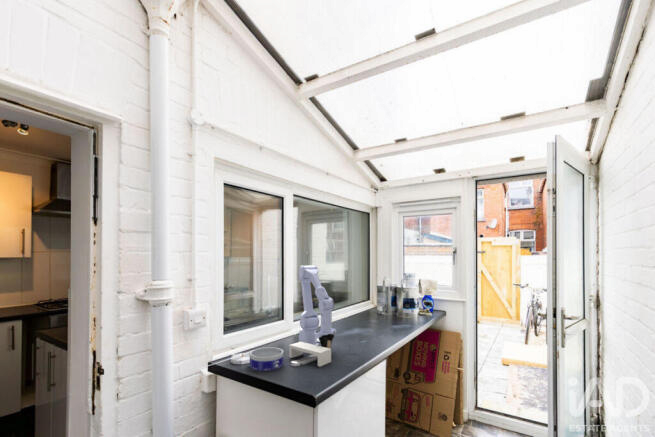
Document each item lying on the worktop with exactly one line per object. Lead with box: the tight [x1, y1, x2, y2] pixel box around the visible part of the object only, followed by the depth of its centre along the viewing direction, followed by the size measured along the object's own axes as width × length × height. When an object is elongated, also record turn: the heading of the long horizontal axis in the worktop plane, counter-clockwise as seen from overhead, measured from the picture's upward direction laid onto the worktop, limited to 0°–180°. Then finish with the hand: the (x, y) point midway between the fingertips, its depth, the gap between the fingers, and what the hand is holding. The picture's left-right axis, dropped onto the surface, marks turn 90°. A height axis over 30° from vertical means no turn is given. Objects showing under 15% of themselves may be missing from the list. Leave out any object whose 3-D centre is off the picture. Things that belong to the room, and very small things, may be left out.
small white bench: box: [288, 341, 332, 367], centre depth 156 cm, size 20×8×6 cm, turn 51°
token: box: [290, 359, 302, 368], centre depth 148 cm, size 4×4×2 cm
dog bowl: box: [249, 346, 284, 372], centre depth 149 cm, size 15×15×6 cm
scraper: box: [297, 340, 332, 366], centre depth 158 cm, size 5×21×6 cm, turn 141°
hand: (326, 349), depth 165 cm, fingers closed on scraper, 2 cm apart
